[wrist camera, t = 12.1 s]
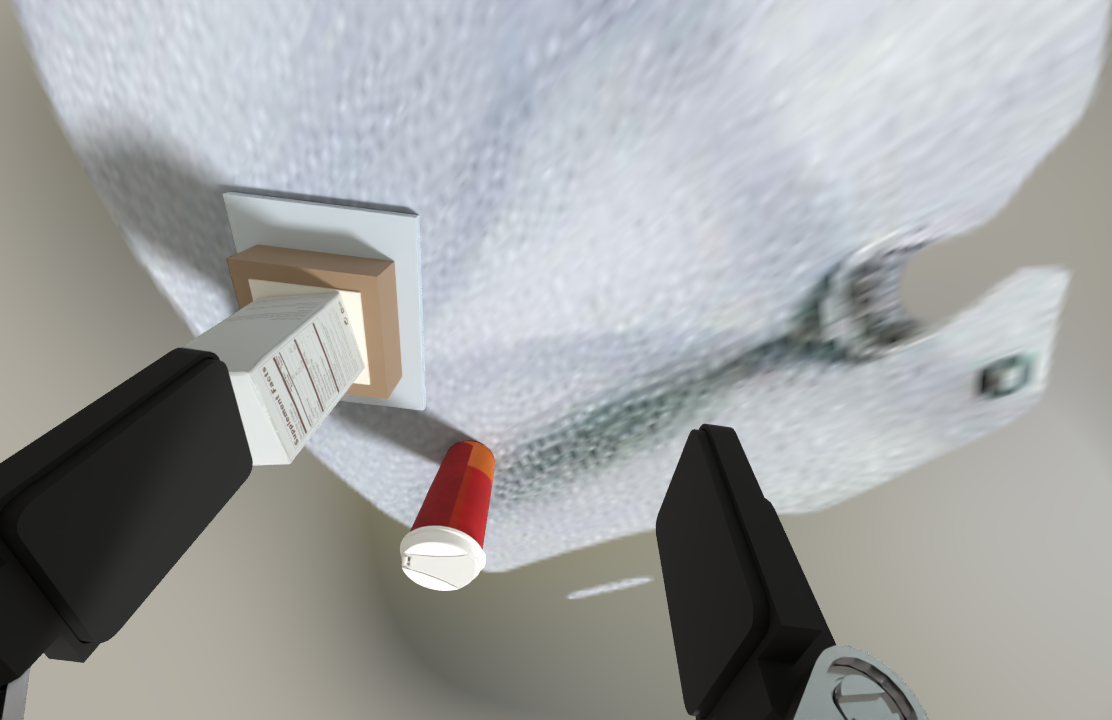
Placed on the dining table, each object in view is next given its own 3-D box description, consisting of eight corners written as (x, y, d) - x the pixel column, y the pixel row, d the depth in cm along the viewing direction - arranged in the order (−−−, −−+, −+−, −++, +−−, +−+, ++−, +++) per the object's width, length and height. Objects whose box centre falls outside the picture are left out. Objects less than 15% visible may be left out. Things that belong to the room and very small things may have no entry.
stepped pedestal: (230, 191, 39) (184, 204, 34) (419, 215, 39) (398, 230, 35) (276, 387, 49) (245, 417, 44) (426, 405, 49) (410, 436, 45)
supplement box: (289, 371, 41) (185, 470, 30) (257, 295, 38) (125, 376, 27) (368, 368, 41) (291, 468, 30) (343, 290, 37) (245, 371, 26)
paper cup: (433, 475, 54) (391, 585, 42) (441, 426, 50) (398, 530, 38) (498, 489, 55) (475, 601, 43) (511, 441, 51) (490, 549, 39)
